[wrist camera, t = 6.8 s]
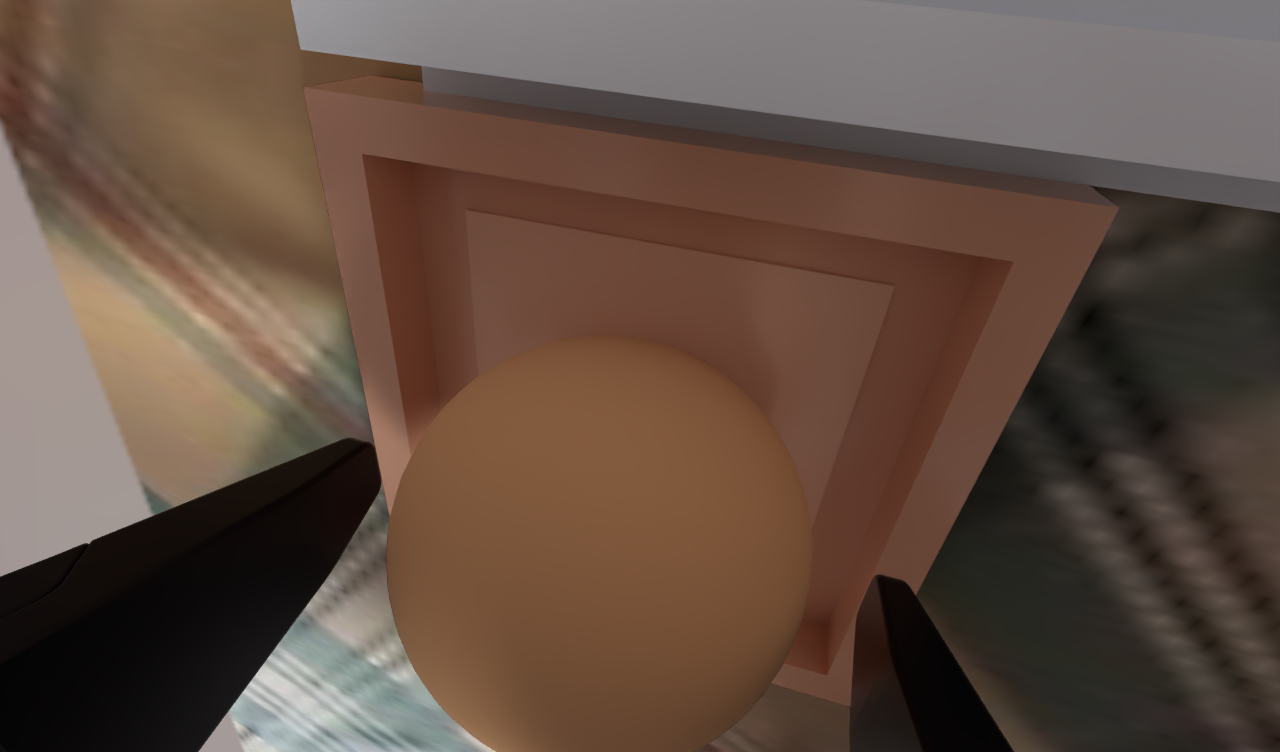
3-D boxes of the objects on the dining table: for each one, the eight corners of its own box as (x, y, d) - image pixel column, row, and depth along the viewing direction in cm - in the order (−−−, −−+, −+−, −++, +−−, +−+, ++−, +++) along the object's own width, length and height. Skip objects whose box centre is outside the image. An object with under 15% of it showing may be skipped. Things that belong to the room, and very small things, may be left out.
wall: (1494, 232, 7) (1831, 352, 5) (443, 85, 10) (313, 115, 7) (1701, 0, 6) (2306, 2, 4) (428, -104, 8) (261, -146, 6)
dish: (853, 641, 14) (856, 708, 13) (437, 525, 16) (400, 573, 14) (1073, 174, 8) (1119, 208, 7) (371, 74, 10) (303, 87, 9)
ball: (772, 561, 13) (753, 921, 8) (503, 499, 14) (333, 788, 9) (849, 305, 9) (905, 647, 4) (490, 244, 10) (201, 475, 5)
